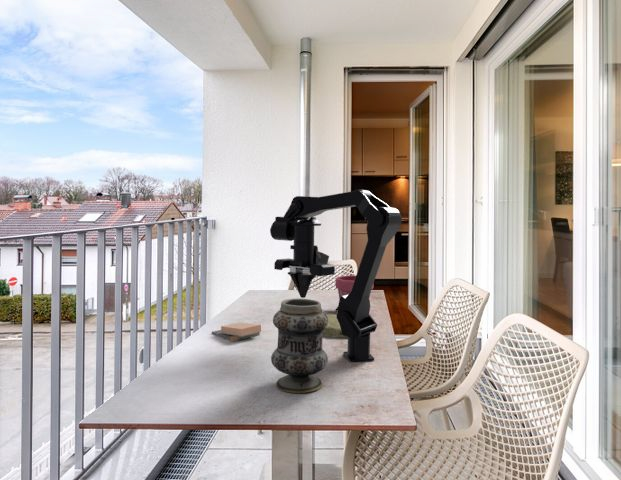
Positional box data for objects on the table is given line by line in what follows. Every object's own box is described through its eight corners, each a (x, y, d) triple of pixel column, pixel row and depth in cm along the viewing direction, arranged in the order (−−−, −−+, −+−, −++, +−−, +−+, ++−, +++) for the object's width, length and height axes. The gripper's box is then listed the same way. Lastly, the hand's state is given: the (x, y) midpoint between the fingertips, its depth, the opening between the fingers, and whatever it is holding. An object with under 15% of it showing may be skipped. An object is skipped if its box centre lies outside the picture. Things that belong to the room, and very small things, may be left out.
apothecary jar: (338, 384, 95) (340, 301, 94) (300, 401, 86) (301, 310, 85) (298, 370, 103) (299, 294, 102) (259, 384, 94) (259, 301, 93)
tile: (260, 324, 129) (240, 322, 136) (241, 329, 124) (221, 326, 131) (261, 332, 129) (240, 329, 136) (241, 336, 124) (221, 333, 131)
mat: (256, 334, 132) (256, 333, 132) (231, 340, 126) (231, 338, 126) (236, 328, 139) (236, 326, 139) (211, 333, 133) (211, 331, 133)
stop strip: (259, 335, 132) (259, 331, 132) (231, 341, 125) (231, 337, 125) (257, 334, 133) (257, 330, 133) (229, 340, 126) (229, 336, 125)
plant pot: (328, 308, 169) (329, 275, 168) (361, 306, 174) (362, 274, 173) (344, 317, 156) (345, 281, 155) (379, 314, 160) (380, 279, 160)
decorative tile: (307, 321, 152) (307, 310, 151) (365, 325, 148) (365, 314, 147) (293, 336, 133) (293, 324, 133) (360, 341, 129) (360, 329, 129)
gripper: (348, 242, 122) (347, 298, 123) (301, 238, 135) (300, 289, 136) (320, 244, 114) (319, 304, 115) (273, 240, 127) (272, 294, 128)
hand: (303, 297), depth 124 cm, fingers closed
